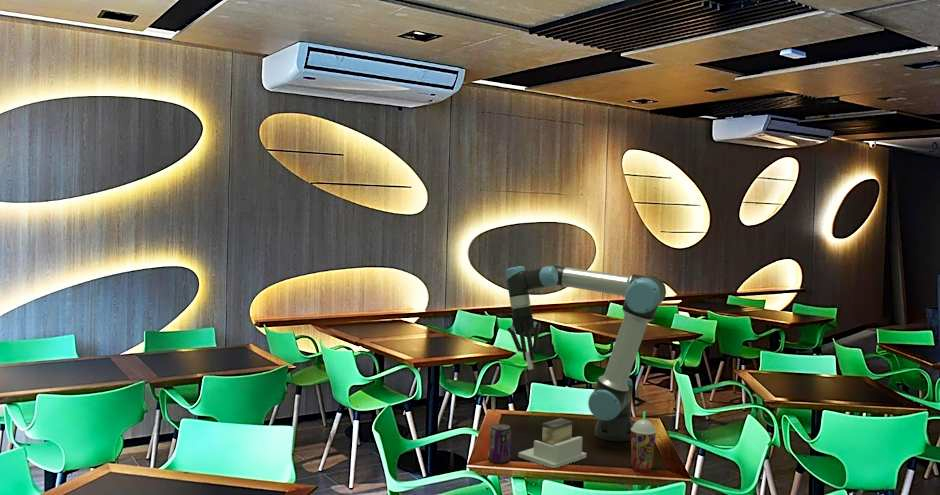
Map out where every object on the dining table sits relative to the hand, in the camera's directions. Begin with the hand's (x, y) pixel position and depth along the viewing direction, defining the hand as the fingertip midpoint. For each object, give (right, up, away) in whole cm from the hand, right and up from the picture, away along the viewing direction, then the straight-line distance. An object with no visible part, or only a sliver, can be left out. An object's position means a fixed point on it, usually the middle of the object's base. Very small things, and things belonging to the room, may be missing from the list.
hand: (530, 369), depth 299 cm
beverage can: (-13, -28, -26) cm, 40 cm away
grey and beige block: (+7, -26, -22) cm, 35 cm away
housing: (+6, -28, -21) cm, 35 cm away
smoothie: (+35, -29, -31) cm, 55 cm away
